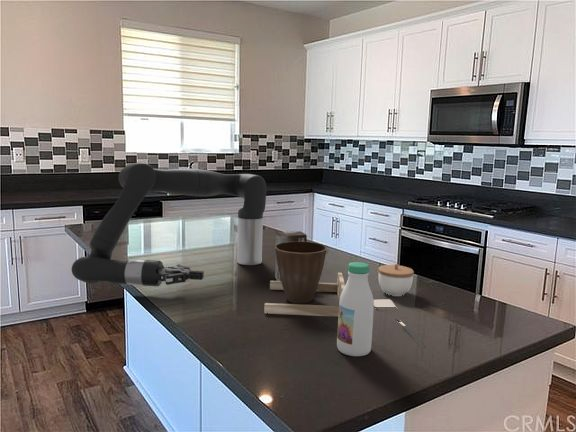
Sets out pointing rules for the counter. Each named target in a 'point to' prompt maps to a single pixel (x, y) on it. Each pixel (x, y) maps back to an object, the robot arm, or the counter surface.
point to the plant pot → (300, 269)
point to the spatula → (390, 304)
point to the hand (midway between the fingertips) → (203, 275)
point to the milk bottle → (356, 312)
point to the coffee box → (288, 237)
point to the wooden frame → (307, 309)
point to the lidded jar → (395, 279)
